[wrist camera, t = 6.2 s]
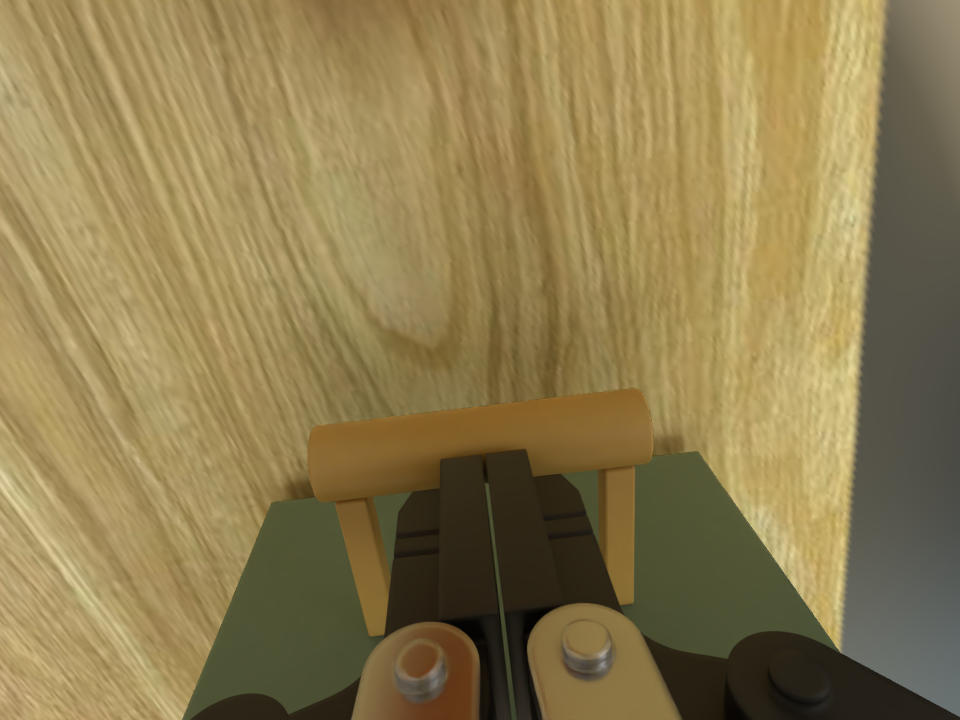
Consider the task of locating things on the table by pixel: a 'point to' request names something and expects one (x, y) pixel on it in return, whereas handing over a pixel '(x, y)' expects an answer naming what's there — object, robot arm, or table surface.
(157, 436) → the table surface
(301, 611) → the drawer
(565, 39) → the table surface
